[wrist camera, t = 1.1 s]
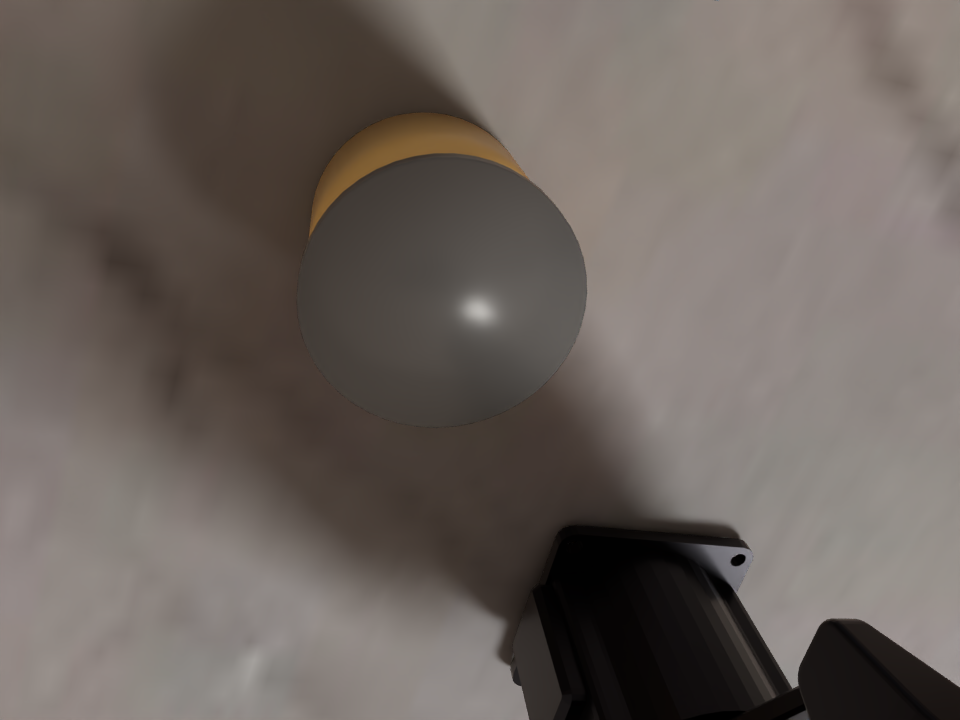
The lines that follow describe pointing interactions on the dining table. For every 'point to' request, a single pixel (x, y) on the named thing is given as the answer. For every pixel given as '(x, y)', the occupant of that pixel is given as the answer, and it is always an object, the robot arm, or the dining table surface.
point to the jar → (436, 275)
